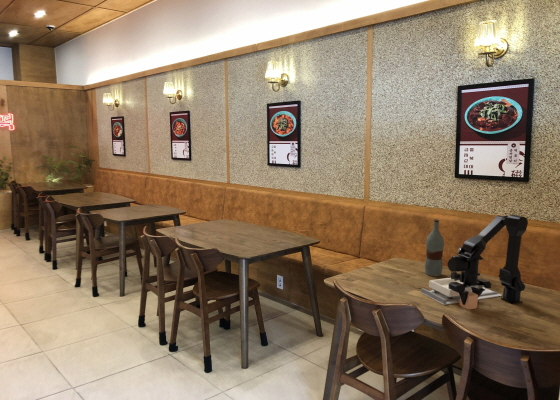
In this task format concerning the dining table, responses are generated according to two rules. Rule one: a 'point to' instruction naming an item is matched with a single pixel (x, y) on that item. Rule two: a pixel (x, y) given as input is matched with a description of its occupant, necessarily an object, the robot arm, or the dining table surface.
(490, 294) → the track
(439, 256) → the bottle
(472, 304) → the block
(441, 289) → the cream rimmed tray
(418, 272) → the dining table surface
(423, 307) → the dining table surface
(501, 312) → the dining table surface
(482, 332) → the dining table surface
